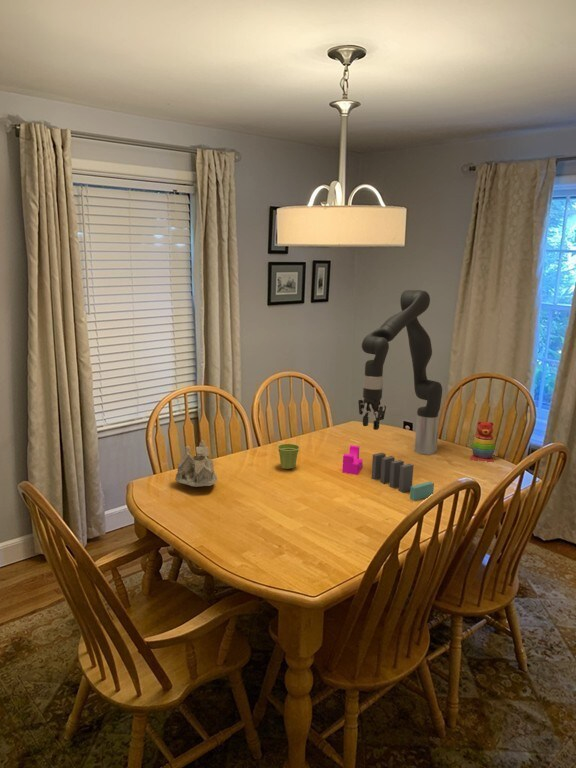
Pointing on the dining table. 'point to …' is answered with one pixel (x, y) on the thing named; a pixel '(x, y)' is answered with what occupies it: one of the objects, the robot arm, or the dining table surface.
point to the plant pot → (288, 455)
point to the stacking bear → (483, 443)
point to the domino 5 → (421, 491)
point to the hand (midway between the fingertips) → (370, 427)
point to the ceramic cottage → (196, 468)
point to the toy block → (352, 461)
